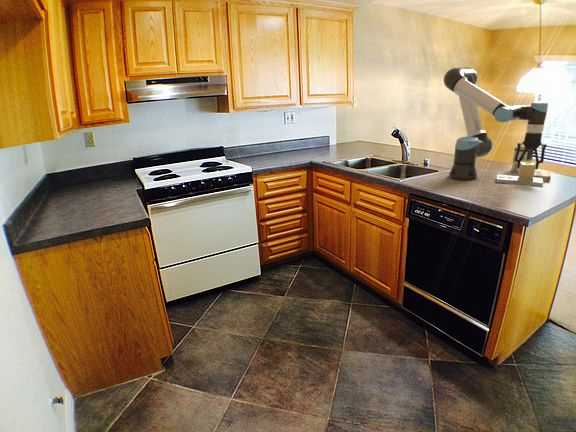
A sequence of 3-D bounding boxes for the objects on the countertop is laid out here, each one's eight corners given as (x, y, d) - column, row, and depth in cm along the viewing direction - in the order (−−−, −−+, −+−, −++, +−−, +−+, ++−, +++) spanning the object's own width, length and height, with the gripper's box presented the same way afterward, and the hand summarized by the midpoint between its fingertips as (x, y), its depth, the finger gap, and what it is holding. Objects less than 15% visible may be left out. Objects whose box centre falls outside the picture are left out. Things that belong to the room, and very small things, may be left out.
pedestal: (524, 179, 214) (525, 174, 213) (524, 175, 224) (525, 170, 223) (549, 181, 208) (550, 176, 207) (548, 176, 218) (549, 171, 217)
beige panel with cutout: (496, 182, 211) (496, 178, 210) (496, 177, 220) (497, 174, 219) (542, 186, 201) (543, 182, 200) (541, 181, 210) (542, 177, 209)
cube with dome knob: (518, 180, 207) (521, 163, 204) (518, 177, 212) (521, 161, 209) (531, 181, 204) (534, 164, 201) (531, 178, 209) (534, 162, 206)
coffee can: (526, 169, 237) (530, 147, 233) (532, 173, 228) (537, 149, 223) (508, 169, 240) (512, 147, 235) (514, 172, 230) (518, 149, 225)
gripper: (513, 132, 201) (506, 174, 209) (556, 133, 192) (546, 177, 200) (513, 130, 207) (506, 171, 215) (555, 132, 198) (545, 174, 206)
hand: (525, 174), depth 207 cm, fingers closed on cube with dome knob, 6 cm apart
